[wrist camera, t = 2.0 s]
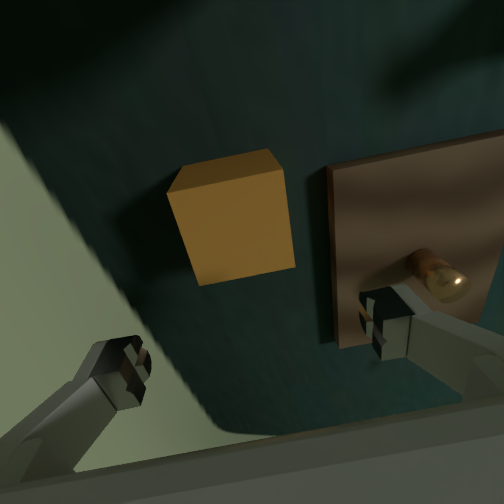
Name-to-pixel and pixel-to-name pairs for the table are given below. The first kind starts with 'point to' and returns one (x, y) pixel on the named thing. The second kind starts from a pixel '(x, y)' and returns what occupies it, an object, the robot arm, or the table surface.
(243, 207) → the mustard brick
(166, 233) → the table surface
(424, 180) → the walnut post base
